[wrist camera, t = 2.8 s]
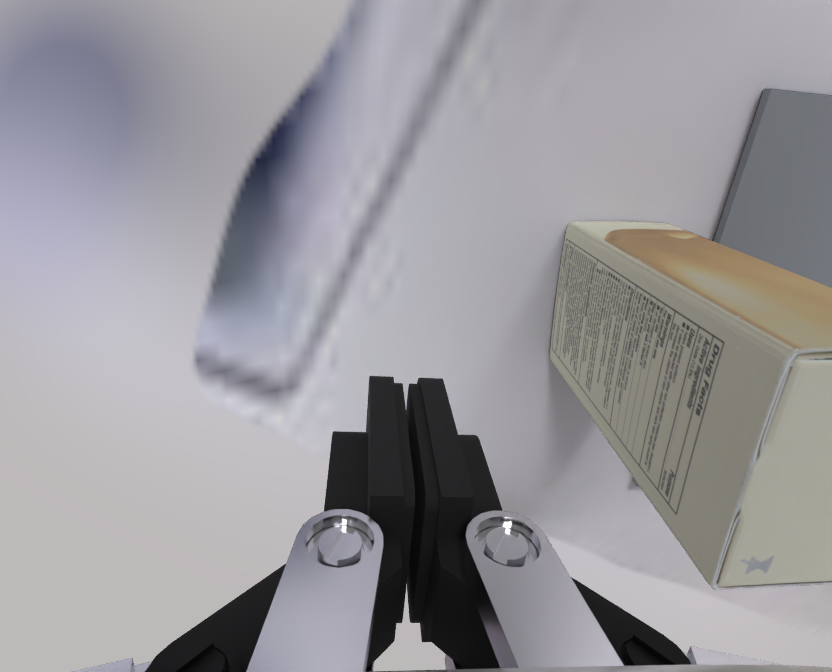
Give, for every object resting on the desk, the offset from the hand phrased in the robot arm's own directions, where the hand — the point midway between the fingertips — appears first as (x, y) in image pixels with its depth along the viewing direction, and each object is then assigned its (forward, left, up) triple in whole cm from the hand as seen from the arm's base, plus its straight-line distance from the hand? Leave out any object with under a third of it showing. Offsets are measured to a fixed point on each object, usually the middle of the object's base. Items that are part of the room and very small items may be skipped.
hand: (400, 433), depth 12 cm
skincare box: (0, +9, -10) cm, 14 cm away
